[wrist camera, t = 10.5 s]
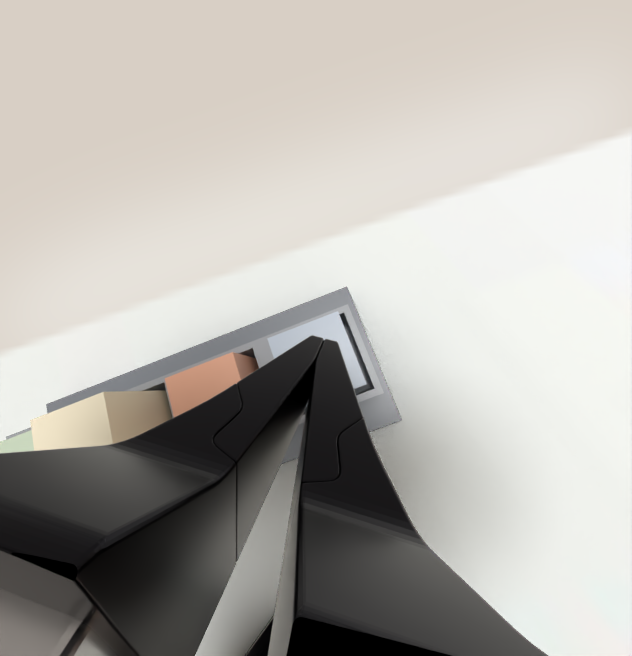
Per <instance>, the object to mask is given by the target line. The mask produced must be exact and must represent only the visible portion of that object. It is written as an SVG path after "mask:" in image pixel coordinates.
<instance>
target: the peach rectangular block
mask: <svg viewBox="0 0 632 656" xmlns="http://www.w3.org/2000/svg"><path fill="white" fill-rule="evenodd" d="M257 369H259V366H258V363H257V360H256V358H253V357H249V356H245V355H242V354H238V353H235V352H231V353H229V354H226V355H223V356H221V357H218V358H216V359H213V360H211V361H208V362H205V363H203V364H200V365H198V366H195V367H192V368H190V369H187V370H185V371H182V372H180V373H177V374H174V375H172V376H169V377H167V378H165V382H166V386H167V390H168V395H169V399H170V403H171V407H172V411H173V415H174V417H176V416H178V415H180V414H182V413H184V412H186V411H188V410H190V409H192V408H194V407H196V406H198V405H199V404H201V403H203V402H205V401H207V400H209V399H211V398H212V397H214V396H216V395H217V394H219V393H221V392H222V391H224V390H226V389H227V388H229V387H230V386H232V385H234V384H237V382H238V381H240V380H242V379H243V378H245V377H246V376H248V375H249V374H251V373H253V372H254V371H256V370H257Z"/></svg>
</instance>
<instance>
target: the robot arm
mask: <svg viewBox="0 0 632 656" xmlns="http://www.w3.org/2000/svg"><path fill="white" fill-rule="evenodd" d="M307 403H308V404H307ZM306 406H307V410H306V415H305V421H304V428H303V434H302V441H301V447H300V453H299V460H298V466H297V472H296V479H295V485H294V491H293V498H292V504H291V511H290V517H289V523H288V530H287V536H286V542H285V549H284V555H283V562H282V568H281V574H280V581H279V587H278V593H277V600H276V606H275V612H274V616H273V617H272V618H271V620H270V621H269V623H268V624H267V625H266V627H265V628H264V630H263V631H262V632H261V634H260V635H259V636H258V638H257V639H256V641H255V642H254V643H253V645H252V646H251V648H250V649H249V650H248V652H247V653H246V654H245V656H548V655H547V654H545V653H544V652H543V651H541V650H540V649H538V648H537V647H536V646H534V645H533V644H532V643H530V642H529V641H528V640H527V639H526V638H525V637H524V636H522V635H521V634H520V633H519V632H518V631H517V630H516V629H514V628H513V627H512V626H511V625H510V624H509V623H508V622H507V621H506V620H505V619H504V618H503V617H502V616H501V615H500V614H499V613H498V612H496V611H495V610H494V609H493V608H492V607H491V606H490V605H489V604H488V603H487V602H486V601H485V600H484V599H483V598H482V597H481V596H480V595H478V594H477V593H476V592H475V591H474V590H473V589H472V588H471V587H470V586H469V585H468V584H467V583H466V582H465V581H464V580H463V579H462V578H461V577H459V576H458V575H457V574H456V573H455V572H454V571H453V570H452V569H451V568H450V567H449V566H448V565H447V564H446V563H445V562H444V561H443V560H441V559H440V558H439V557H438V556H437V555H436V554H435V553H434V552H433V551H432V550H431V549H430V548H429V547H428V545H427V544H426V543H425V542H424V541H423V539H422V538H421V536H420V535H419V534H418V532H417V530H416V529H415V527H414V526H413V524H412V522H411V520H410V518H409V516H408V514H407V512H406V510H405V508H404V506H403V504H402V502H401V500H400V498H399V496H398V494H397V492H396V490H395V488H394V486H393V484H392V482H391V480H390V478H389V476H388V474H387V472H386V470H385V468H384V466H383V464H382V462H381V460H380V457H379V455H378V453H377V451H376V449H375V446H374V444H373V441H372V439H371V436H370V433H369V431H368V428H367V425H366V422H365V420H364V417H363V414H362V411H361V408H360V405H359V402H358V399H357V396H356V393H355V390H354V388H353V385H352V382H351V379H350V376H349V373H348V370H347V367H346V364H345V361H344V358H343V355H342V353H341V350H340V347H339V344H338V342H337V341H333V340H329V339H325V340H324V339H323V338H321V337H318V336H314V335H311V336H309V337H308V338H306V339H304V340H303V341H301V342H300V343H298V344H297V345H295V346H293V347H292V348H290V349H289V350H287V351H286V352H284V353H282V354H281V355H279V356H278V357H276V358H275V359H273V360H271V361H270V362H268V363H267V364H265V365H264V366H262V367H260V368H259V369H257V370H256V371H254V372H253V373H251V374H249V375H248V376H246V377H245V378H243V379H242V380H240V381H238V382H237V384H234V385H232V386H230V387H229V388H227V389H226V390H224V391H222V392H221V393H219V394H217V395H216V396H214V397H212V398H211V399H209V400H207V401H205V402H203V403H201V404H199V405H198V406H196V407H194V408H192V409H190V410H188V411H186V412H184V413H182V414H180V415H178V416H176V417H174V418H172V419H170V420H168V421H166V422H164V423H162V424H160V425H158V426H156V427H154V428H152V429H150V430H148V431H146V432H144V433H142V434H140V435H137V436H135V437H133V438H130V439H128V440H125V441H122V442H118V443H115V444H109V445H102V446H90V447H77V448H64V449H50V450H37V451H24V452H11V453H0V656H195V654H196V652H197V650H198V647H199V645H200V643H201V641H202V638H203V636H204V634H205V632H206V630H207V627H208V625H209V623H210V621H211V618H212V616H213V614H214V612H215V610H216V607H217V605H218V603H219V601H220V598H221V596H222V594H223V592H224V590H225V587H226V585H227V583H228V581H229V578H230V576H231V574H232V572H233V569H234V567H235V565H236V561H237V560H238V558H239V556H240V554H241V552H242V549H243V547H244V545H245V543H246V540H247V538H248V536H249V534H250V531H251V529H252V527H253V525H254V523H255V520H256V518H257V516H258V514H259V511H260V509H261V507H262V505H263V503H264V500H265V498H266V496H267V494H268V491H269V489H270V487H271V485H272V482H273V480H274V478H275V476H276V474H277V471H278V469H279V467H280V465H281V462H282V460H283V458H284V456H285V454H286V451H287V449H288V447H289V445H290V442H291V440H292V438H293V436H294V434H295V431H296V429H297V427H298V425H299V422H300V420H301V418H302V416H303V413H304V411H305V409H306Z"/></svg>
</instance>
